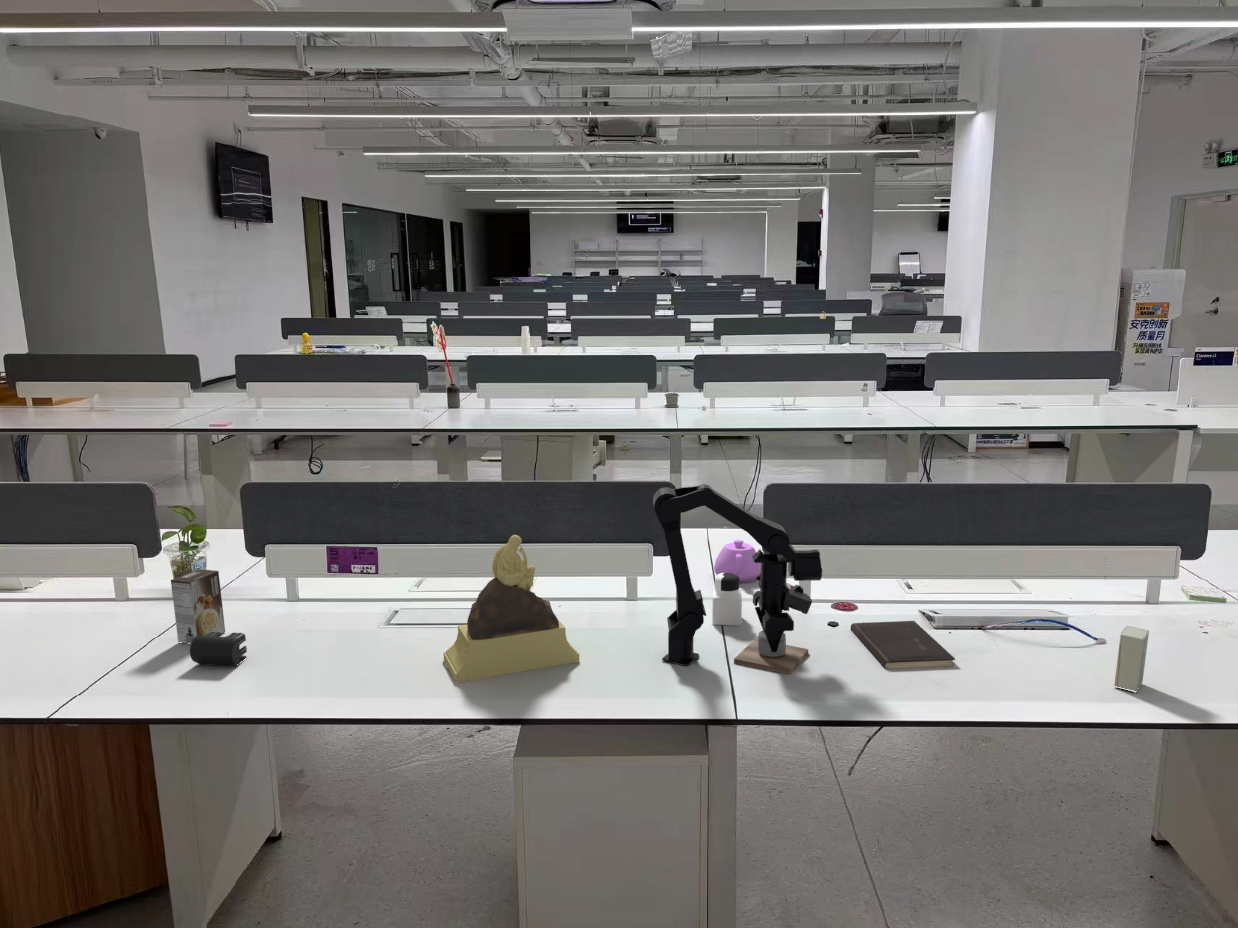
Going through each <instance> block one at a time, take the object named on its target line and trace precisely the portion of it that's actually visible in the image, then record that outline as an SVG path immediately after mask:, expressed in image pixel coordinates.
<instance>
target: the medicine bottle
mask: <svg viewBox="0 0 1238 928" xmlns="http://www.w3.org/2000/svg"><path fill="white" fill-rule="evenodd" d="M714 579H715V580H714V588H713V589H712V611H711V613H712V615H711V616H712V625H713V626H737V627H738V626H740V627H741V626H742V609H743V608H742V606H743V604H742V603H743V600H742V598H743V596H742V590H741V589H740V582H739V577H738V575H736V574H733V573H720V574H718V575H717V574H716V575H715V577H714Z"/></svg>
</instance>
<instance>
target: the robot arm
mask: <svg viewBox="0 0 1238 928" xmlns="http://www.w3.org/2000/svg"><path fill="white" fill-rule="evenodd" d="M652 499H653V500H652V501H653V509H654V512H655V514H656V517H657V519H658V522H659V524H660V526H661V529H662V530H663V533H664V536H665V537H664V538H665V541H666V545H667V550H668V555H669V560H670V564H671V570H672V573H673V575H672V576H673V579H674V584H675V588H676V590H675V610H674V611H673V612H672V613H671V614H670V615H669V616H668V617H667V618H666V620H667V627H668V632H667V635H668V637H667V645H668V646H667V649H668V650H667V654H666V655H664V656H663V657H662V659H661V660H662V662H663V661H664V662H667V663H673V664H675V665H676V664H677V665H681V666H685V667H686V666H690V665H691V664H692V663H693V662H694V661H695V660H697V659H698V658H699V657H700V654H699V653H696V652H694V637H695V634H696V631H698V630H700V628H701V627H702V626H703V625H704V621H705V617H707V613H706V608H705V605H704V599H703V594H702V591H701V589H698V590H695V589H694V586H693V584H692V579H691V574H690V570H689V565H688V560H687V556H686V555H687V554H686V550H685V545H684V541H683V535H682V530H681V529H682V528H681V527H682V513H687V512H690V511H692V510H695V509H698V508H701V507H706V508H708V509H709V510H711V511H712V512H714V513H716V514H717V515H719V516H721V517H722V518H724V519H725V520H727V521H728V522H731V524H733V525H735V526H737V527H738V528H740V529H741V530H742V531H744V532H746V533H747V534H749V535H750V536H751V538H752V539H753V540H755V542H757V543H758V544H759V546H760V547H762V548H763V549H764V550H765V551H766V552H763V550H761V549H758V551H756V552H757V553H755V554H754V555H753V556H752V559H753V561H754V562H755V563H761V575H760V580H759V581H758V587H759V589H760V590H756V591H755V592H754V593H753V594H752V603H753V606H754V610H755V612H756V614H757V618H758V620H759V623H760V626H761V628H762V631H763V630H764V632H765V634H766V637H767V640H768V643H769V646H770V648H771V651H772V652H777V649H778V646H779V643H780V640H781V637H782V634H783V633H785V632H792V631H794V630H795V629H794V628H795V621H794V619H793V617H792V616H791V615H790V614H789V613H788V611H790V609H792V610H795V611H798V612H801V614H803V615H807V614H809V610H810V608H811V606H812V604H813V600H812V598H811V597H810V595H808V594H807V593H804V588H803V587H802V586H801V585H800V584H795V585H794V586H793V587H792V588H789V586H788V585H787V576H788V575H789V577H793V580H794V581H796V582H797V581H798V582H799V581H801V582H802V581H806V582H807V581H808V582H810V581H815V582H817V581H821V580H822V576H823V568H822V562H821V561H822V560H821V552H820V551H819V549H809V550H795V548H794V547H793V545H792V544H790V537H789V535H788V533H787V532H786V530H785V528H784V527H783V526H782V525H781V524H779V523H778V522H775V521H772V520H770V519H768V518H764V517H761V516H757V515H755V514H753V513H751V512H750V511H749V510H747V509H745V508H743V507H742V506H740V505H739V504H737V503H735V502H733V501H732V500H730V499H729V498H727V497H726V496H724V495H723V494H721V493H720V492H718V491H716V490H715V489H714V488H712V487H711V486H710V485H708V484H707V483H703V484H700V485H694V486H684V487H683V486H682V487H677V488H676V487H675V488H670V487H668V486H665V487H661V488H659V489H658V490H656V492H655V493H654V494H653V498H652ZM787 570H788V571H787ZM787 572H788V575H787ZM786 611H787V612H786ZM704 616H705V617H704Z"/></svg>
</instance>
